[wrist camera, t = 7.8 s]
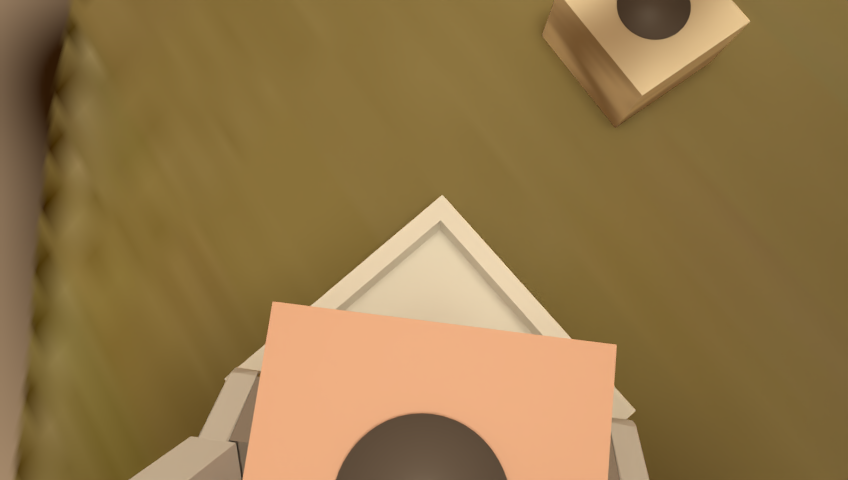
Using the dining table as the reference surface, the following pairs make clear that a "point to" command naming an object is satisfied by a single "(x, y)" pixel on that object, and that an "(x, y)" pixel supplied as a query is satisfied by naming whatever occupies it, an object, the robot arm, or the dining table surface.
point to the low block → (638, 46)
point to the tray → (442, 284)
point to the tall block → (426, 401)
